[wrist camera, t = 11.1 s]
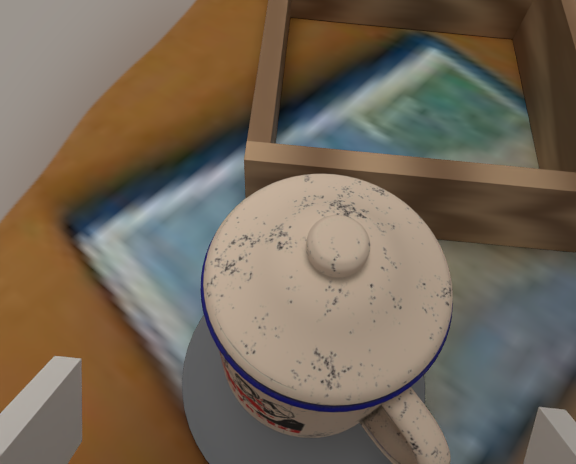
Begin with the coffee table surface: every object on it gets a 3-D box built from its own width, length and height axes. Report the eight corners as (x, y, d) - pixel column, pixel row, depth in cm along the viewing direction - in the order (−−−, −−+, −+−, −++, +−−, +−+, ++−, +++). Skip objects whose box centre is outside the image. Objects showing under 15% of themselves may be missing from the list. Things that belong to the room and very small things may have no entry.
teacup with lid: (184, 322, 26) (137, 198, 16) (326, 240, 29) (364, 89, 19) (320, 551, 21) (377, 583, 11) (473, 425, 24) (630, 360, 14)
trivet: (414, 282, 29) (419, 275, 28) (425, 523, 23) (432, 524, 22) (205, 262, 29) (203, 254, 28) (163, 499, 23) (159, 499, 22)
